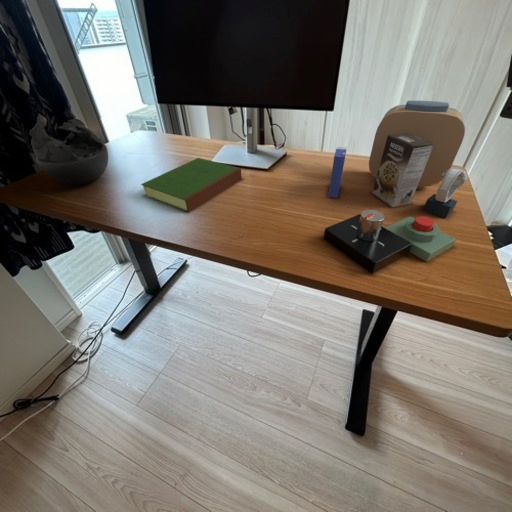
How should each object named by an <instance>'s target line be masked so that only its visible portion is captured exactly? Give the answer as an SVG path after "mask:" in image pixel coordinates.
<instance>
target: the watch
mask: <svg viewBox="0 0 512 512" xmlns="http://www.w3.org/2000/svg"><path fill="white" fill-rule="evenodd" d="M442 176H444V179H443V180H442V181H441V183H440V184H439V187H438V188H437V190H436V193H433V194H431V196H429V197H428V198H427V199H426V201H425V204H424V206H423V208H422V211H424V212H427V213H429V214H432V215H435V216H437V217H440V218H442V219H443V218H444V219H446V218H447V217H449V216H450V214H451V213H452V212H453V211H454V209H455V207H456V205H457V203H458V200H456V199H453V198H452V197H453V195H454V194H455V192H456V190H457V189H460V187H462V186H463V185H464V184H465V183H466V182H467V181H468V179H469V175H468V172H466V171H465V170H464V169H462V168H458V167H451V168H450V169H448V170H447V171H446V172H445V173H443V174H442Z"/></svg>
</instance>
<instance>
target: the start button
mask: <svg viewBox="0 0 512 512" xmlns="http://www.w3.org/2000/svg"><path fill="white" fill-rule="evenodd" d="M434 223H435V221H434V220H433V219H432V218H430V217H427V216H417V217H415V221H414V223H413V228H414V229H416V230H418V231H422V232H430V231H431V229H432V227H433V225H434Z"/></svg>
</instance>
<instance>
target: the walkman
mask: <svg viewBox="0 0 512 512" xmlns="http://www.w3.org/2000/svg"><path fill="white" fill-rule="evenodd" d="M347 149H348V147H346V146H345V147H344V146H336V148H335V152H334V157H333V162H332V168H331V175H330V181H329V187H328V193H327V197H328V198H334V199H335V198H336V199H338V198H339V193H340V188H341V183H342V177H343V172H344V166H345V161H346V155H347Z"/></svg>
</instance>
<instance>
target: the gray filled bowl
mask: <svg viewBox="0 0 512 512" xmlns="http://www.w3.org/2000/svg"><path fill="white" fill-rule="evenodd" d="M57 129H59V130H62V131H66V132H68V133H69V132H70V133H69V134H68V135H67V136H66V137H65V139H64V141H63V140H59V139H57V138H54V137H52V136H49V134H48V133H47V132H46V130H45V122H44V121H43V120H38V121H37V122H36V123H35V124H34V126H33V128H31V129H30V130H29V134H28V136H31V139H30V144H31V147H32V151H33V152H34V155H35V162H36V164H37V165H38V166H39V168H40V169H41V170H42V171H43V172H44V173H45V174H47V175H48V176H49V177H50V178H53V179H54V180H56V181H59V182H61V183H64V184H68V185H74V186H76V185H77V186H81V185H87V184H91V183H93V182H95V181H97V180H98V179H99V178H100V177H102V175H104V173H105V172H106V169H107V167H108V163H109V152H108V151H109V150H108V147H107V145H106V144H105V143H104V142H103V141H102V139H101V138H98V136H97V135H96V133H94V132H93V131H92V130H91V129H90V128H88V127H86V124H85V123H84V122H83V120H80V119H78V118H73V119H69V120H67V122H66V121H64V122H63V123H62V125H60V126H58V127H57Z"/></svg>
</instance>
